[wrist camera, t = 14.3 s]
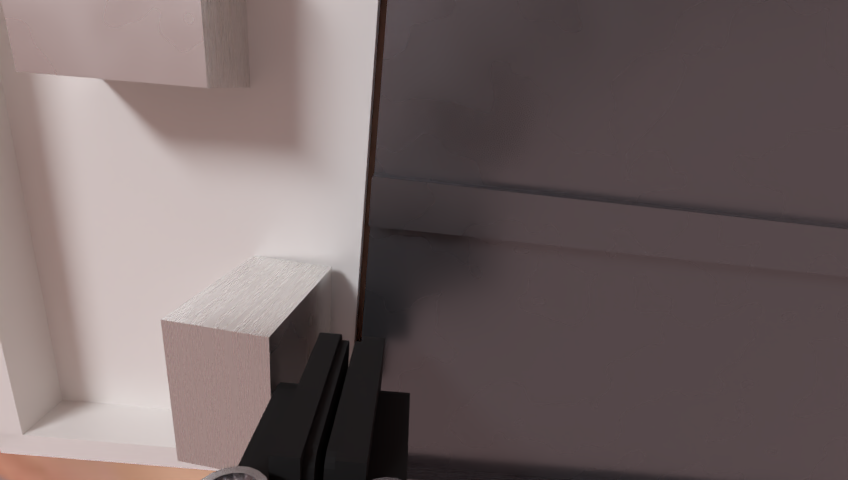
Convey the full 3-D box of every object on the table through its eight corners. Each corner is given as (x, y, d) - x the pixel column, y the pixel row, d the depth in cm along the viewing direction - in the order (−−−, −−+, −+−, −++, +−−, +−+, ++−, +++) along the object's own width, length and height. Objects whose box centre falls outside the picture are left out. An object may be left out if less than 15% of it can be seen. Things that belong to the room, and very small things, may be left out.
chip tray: (398, -241, 10) (391, -326, 8) (349, 430, 16) (339, 481, 14) (-86, -313, 10) (-226, -423, 8) (56, 405, 16) (0, 452, 14)
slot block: (1147, -129, 11) (1406, -205, 8) (824, 472, 17) (905, 549, 14) (415, -238, 10) (413, -365, 7) (360, 431, 16) (347, 504, 14)
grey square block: (268, 337, 9) (160, 319, 10) (273, 480, 11) (177, 460, 11) (332, 266, 13) (253, 255, 13) (329, 379, 14) (257, 366, 15)
